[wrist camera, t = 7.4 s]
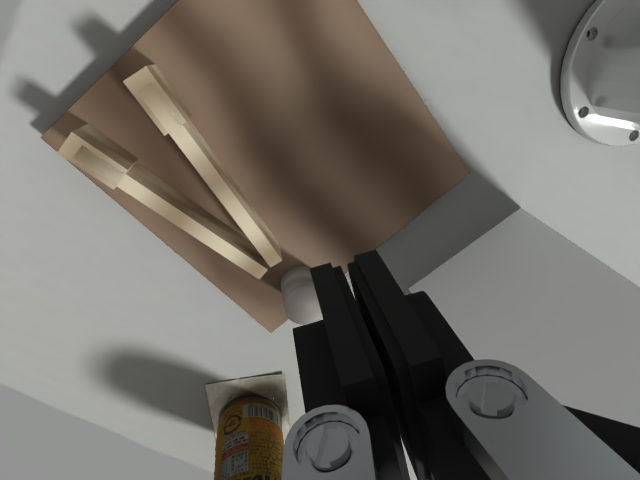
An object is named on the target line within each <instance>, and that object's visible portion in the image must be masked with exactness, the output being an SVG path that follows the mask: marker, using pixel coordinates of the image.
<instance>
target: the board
mask: <svg viewBox="0 0 640 480" xmlns="http://www.w3.org/2000/svg"><path fill="white" fill-rule="evenodd" d="M154 64H156V66H157V67H158V68H159V70H160V71H161V73H162V74H163V75H164V77H165V78H166V80H167V81H168V82H169V84H170V85H171V87H172V88H173V89H174V91H175V92H176V93H177V95H178V96H179V98H180V99H181V100H182V102H183V103H184V105H185V106H186V107H187V109H188V110H189V112H190V113H191V114H192V115H191V116H190V118H189V119H190V121H191V122H192V123H193V125H194V126H195V128H196V129H197V130H198V132H199V133H200V135H201V136H202V137H203V139H204V140H205V141H206V143H207V144H208V146H209V147H210V148H211V150H212V151H213V153H214V154H215V155H216V157H217V158H218V159H219V161H220V162H221V164H222V165H223V166H224V168H225V169H226V171H227V172H228V173H229V175H230V176H231V177H232V179H233V180H234V182H235V183H236V184H237V186H238V187H239V188H240V190H241V191H242V193H243V194H244V195H245V197H246V198H247V200H248V201H249V202H250V204H251V205H252V206H253V208H254V209H255V211H256V212H257V213H258V215H259V216H260V218H261V219H262V220H263V222H264V223H265V224H266V226H267V227H268V229H269V230H270V231H271V233H272V234H273V236H274V237H275V238H276V240H277V241H278V242H279V246H280V251H281V256H282V261H281V262H279V263H277V264H276V265H274V266H272V267H270V266H269V265H268V263H267V266H268V270H267V271H266V273H265V274H264V275H263V276H262V277H261V278H260V279H257V278H256V277H254V276H253V275H251V274H250V273H248V272H247V271H245V270H244V269H242V268H241V267H239V266H238V265H236V264H235V263H233V262H232V261H230V260H228V259H227V258H225V257H224V256H222V255H221V254H219V253H218V252H216V251H215V250H213V249H212V248H210V247H209V246H207V245H206V244H204V243H202V242H201V241H199V240H198V239H196V238H195V237H193V236H192V235H190V234H189V233H187V232H186V231H184V230H183V229H181V228H180V227H178V226H176V225H175V224H173V223H172V222H170V221H169V220H167V219H166V218H164V217H163V216H161V215H160V214H158V213H157V212H155V211H154V210H152V209H150V208H149V207H147V206H146V205H144V204H143V203H141V202H140V201H138V200H137V199H135V198H134V197H132V196H131V195H129V194H128V193H126V192H125V191H123V190H121V189H120V188H118V187H116V188H115V189H114V190H113V189H112V188H110V187H109V186H107V185H106V184H104V183H102V182H101V181H99V180H98V179H96V178H95V177H93V176H92V175H90V174H89V173H87V172H85V171H84V170H82V169H81V168H79V167H78V166H76V165H75V164H73V163H72V162H70V161H69V160H67V159H66V160H67V161H69V162H70V163H71V164H72V165H73V166H75V167H76V168H77V169H78V170H79V171H80V172H82V173H83V174H84V175H85V176H86V177H88V178H89V179H90V180H91V181H92V182H93V183H95V184H96V185H97V186H98V187H99V188H101V189H102V190H103V191H104V192H105V193H106V194H108V195H109V196H110V197H111V198H112V199H114V200H115V201H116V202H117V203H118V204H119V205H121V206H122V207H123V208H124V209H125V210H126V211H128V212H129V213H130V214H131V215H132V216H134V217H135V218H136V219H137V220H138V221H139V222H141V223H142V224H143V225H144V226H145V227H147V228H148V229H149V230H150V231H151V232H152V233H154V234H155V235H156V236H157V237H158V238H160V239H161V240H162V241H163V242H164V243H165V244H167V245H168V246H169V247H170V248H171V249H173V250H174V251H175V252H176V253H177V254H178V255H180V256H181V257H182V258H183V259H184V260H185V261H187V262H188V263H189V264H190V265H191V266H193V267H194V268H195V269H196V270H197V271H198V272H200V273H201V274H202V275H203V276H204V277H206V278H207V279H208V280H209V281H210V282H211V283H213V284H214V285H215V286H216V287H217V288H219V289H220V290H221V291H222V292H223V293H224V294H226V295H227V296H228V297H229V298H230V299H232V300H233V301H234V302H235V303H236V304H237V305H239V306H240V307H241V308H242V309H243V310H245V311H246V312H247V313H248V314H249V315H250V316H252V317H253V318H254V319H255V320H256V321H257V322H259V323H260V324H261V325H262V326H263V327H265V328H266V329H267V330H268V331H269V332H270V333H272V332H273V331H274V330H275V329H277V328H278V327H279V326H280V325H282V324H283V323H284V322H285V321H287V320H288V319H289V318H288V317H287V315H286V313H285V307H284V302H283V296H282V290H281V279H282V276H283V275H284V273H285V272H286V271H287V270H288V269H290V268H292V267H294V266H299V265H304V266H308V267H311V268H313V267H316V266H320V265H323V264H326V263H330V262H331V265H332V267H333V268H334V267H337V266H341V267H342V270H343V272H344V274H345V273H346V272H348V267H347V263H351V262H354V255H358V254H361V253H365V252H368V251H371V250H375V249H376V248H377V247H379V246H380V245H381V244H382V243H384V242H385V241H386V240H387V239H389V238H390V237H391V236H392V235H394V234H395V233H396V232H397V231H399V230H400V229H401V228H402V227H404V226H405V225H406V224H407V223H409V222H410V221H411V220H412V219H414V218H415V217H416V216H417V215H419V214H420V213H421V212H422V211H424V210H425V209H426V208H427V207H429V206H430V205H431V204H432V203H434V202H435V201H436V200H437V199H438V198H440V197H441V196H442V195H443V194H445V193H446V192H447V191H448V190H450V189H451V188H452V187H453V186H455V185H456V184H457V183H458V182H460V181H461V180H462V179H463V178H465V177H466V176H467V175H468V174H470V172H469V171H468V169H467V168H466V166H465V165H464V163H463V162H462V160H461V159H460V157H459V156H458V154H457V153H456V151H455V149H454V148H453V146H452V145H451V143H450V142H449V140H448V139H447V137H446V136H445V134H444V133H443V131H442V130H441V128H440V127H439V125H438V123H437V122H436V120H435V119H434V117H433V116H432V114H431V113H430V111H429V110H428V108H427V107H426V105H425V104H424V102H423V101H422V99H421V97H420V96H419V94H418V93H417V91H416V90H415V88H414V87H413V85H412V84H411V82H410V81H409V79H408V78H407V76H406V75H405V73H404V72H403V70H402V68H401V67H400V65H399V64H398V62H397V61H396V59H395V58H394V56H393V55H392V53H391V52H390V50H389V49H388V47H387V46H386V44H385V42H384V41H383V39H382V38H381V36H380V35H379V33H378V32H377V30H376V29H375V27H374V26H373V24H372V23H371V21H370V20H369V18H368V16H367V15H366V13H365V12H364V10H363V9H362V7H361V6H360V4H359V3H358V1H357V0H178V1H177V2H176V3H175V4H174V5H173V6H172V7H171V8H170V9H169V10H168V11H167V12H166V13H165V14H164V15H163V16H162V17H161V18H160V19H159V20H158V21H157V22H156V23H155V24H154V25H153V26H152V27H151V28H150V29H149V30H148V31H147V32H146V33H145V34H144V35H143V36H142V37H141V38H140V39H139V40H138V41H137V42H136V43H135V44H134V45H133V46H132V47H131V48H130V49H129V50H128V51H127V52H126V53H125V54H124V55H123V56H122V57H121V58H120V59H119V60H118V61H117V62H116V63H115V64H114V65H113V66H112V67H111V68H110V69H109V70H108V71H107V72H106V73H105V74H104V75H103V76H102V77H101V78H100V79H99V80H98V81H97V82H96V83H95V84H94V85H93V86H92V87H91V88H90V89H89V90H88V91H87V92H86V93H85V94H84V95H83V96H82V97H81V98H80V99H79V100H78V101H77V102H76V103H75V104H74V105H73V106H72V107H71V108H70V109H69V110H68V111H67V112H66V113H65V114H64V115H63V116H62V117H61V118H60V119H59V120H58V121H57V122H56V123H55V124H54V125H53V126H52V127H51V128H50V129H49V130H48V131H47V132H46V133H45V134H44V135H43V136H42V137H40V138H42V139H43V140H44V141H45V142H46V143H47V144H49V145H50V146H51V147H52V148H53V149H54V150H56V151H57V152H58V151H59V149H60V148H61V146H62V145H63V144H64V142H65V141H66V139H67V138H68V136H69V135H70V133H71V132H72V131H74V130H76V129H78V128H80V127H82V126H84V125H86V124H89V125H91V126H92V127H94V128H95V129H97V130H98V131H100V132H101V133H102V134H104V135H105V136H107V137H108V138H110V139H111V140H112V141H114V142H115V143H117V144H118V145H120V146H121V147H122V148H124V149H125V150H127V151H128V152H130V153H131V154H133V155H134V156H135V157H137V158H138V160H137V163H138V164H140V165H141V166H142V167H144V168H145V169H147V170H148V171H150V172H151V173H153V174H154V175H155V176H157V177H158V178H160V179H161V180H163V181H164V182H166V183H167V184H168V185H170V186H171V187H173V188H174V189H176V190H177V191H179V192H180V193H181V194H183V195H184V196H186V197H187V198H189V199H190V200H192V201H193V202H194V203H196V204H197V205H199V206H200V207H202V208H203V209H205V210H206V211H207V212H209V213H210V214H212V215H213V216H215V217H216V218H218V219H219V220H220V221H222V222H223V223H225V224H226V225H228V226H229V227H231V228H232V229H233V230H235V231H236V232H238V233H239V234H241V235H242V236H244V237H245V238H246V239H248V240H249V238H248V237H247V236H246V235H245V233H244V232H243V231H242V229H241V228H240V227H239V225H238V224H237V223H236V221H235V220H234V219H233V217H232V216H231V215H230V213H229V212H228V211H227V209H226V208H225V207H224V206H223V204H222V203H221V202H220V200H219V199H218V198H217V196H216V195H215V194H214V192H213V191H212V190H211V188H210V187H209V186H208V184H207V183H206V182H205V181H204V179H203V178H202V177H201V175H200V174H199V173H198V171H197V170H196V169H195V167H194V166H193V165H192V163H191V162H190V161H189V159H188V158H187V157H186V156H185V154H184V153H183V152H182V150H181V149H180V148H179V146H178V145H177V144H176V142H175V141H174V140H173V138H172V137H171V136H170V134H169V133H168V134H167V135H165V136H164V135H163V133H162V132H161V131H160V129H159V128H158V127H157V125H156V124H155V123H154V122H153V120H152V119H151V118H150V116H149V115H148V114H147V112H146V111H145V110H144V109H143V107H142V106H141V105H140V103H139V102H138V101H137V99H136V98H135V97H134V95H133V94H132V93H131V92H130V90H129V89H128V88H127V86H126V85H125V84H124V82H123V81H124V80H126V79H127V78H129V77H130V76H132V75H133V74H135V73H136V72H138V71H139V70H141V69H142V68H144V67H145V66H148V65H154ZM249 241H250V240H249Z"/></svg>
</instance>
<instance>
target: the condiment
mask: <svg viewBox="0 0 640 480" xmlns="http://www.w3.org/2000/svg"><path fill="white" fill-rule="evenodd" d="M205 388H206V393H207V398H208V403H209V408H210V412H211V417H212V422H213V427H214V432H215V436H216V448H215V450H216V455H215V458H216V460H215V472H214V476H215V477H214V480H280V479H281V477H282V465H283V452H284V441H283V439H286V437H287V434H288V433H289V431H290V424H289V413H288V402H287V392H286V381H285V374H279V375H267V376H261V377H250V378H244V379H236V380H232V381H224V382H218V383H213V384H206V385H205ZM232 395H234V396H233V397H232V398H231V396H232ZM273 398H274V399H273ZM229 399H231V400H230V401H228V400H229Z"/></svg>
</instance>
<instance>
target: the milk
mask: <svg viewBox="0 0 640 480" xmlns="http://www.w3.org/2000/svg"><path fill="white" fill-rule="evenodd" d="M408 290H409V291H410V292H411V293H416V292H419V291H425V292H426V294H427V295H428V296H429V297H430V299H431V300H432V302H433V303H434V304H435V306H436V307H437V308H438V310H439V311H440V313H441V314H442V315H443V317H444V318H445V320H446V321H447V322H448V324H449V325H450V326H451V328H452V329H453V331H454V332H455V333H456V335H457V336H458V338H459V339H460V340H461V342H462V343H463V344H464V346H465V347H466V349H467V350H468V351H469V353H470V354H471V356H472V357H473V358H474V360H483V359H492V360H498V361H504V362H506V363H509V364H511V365H514V366H516V367H518V368H519V369H521V370H522V371H524V372H525V373H527V374H528V375H529V376H530V377H531V378H532V379H533V380H534V381H536V382H537V383H538V384H539V385H540V386H541V387H542V388H543V389H545V390H546V391H547V392H548V393H549V394H550V395H551V396H552V397H554V398H555V399H556V400H557V401H558V402H559V403H560V404H561V405H564V406H568V407H571V408H575V409H578V410H582V411H585V412H588V413H592V414H595V415H599V416H602V417H605V418H609V419H612V420H616V421H619V422H622V423H626V424H629V425H633V426H636V427H639V428H640V287H638V286H637V285H635V284H634V283H632V282H631V281H629V280H628V279H626V278H625V277H623V276H622V275H620V274H619V273H617V272H616V271H614V270H613V269H611V268H610V267H608V266H607V265H606V264H604V263H603V262H601V261H600V260H598V259H597V258H595V257H594V256H592V255H591V254H589V253H588V252H586V251H585V250H583V249H582V248H580V247H579V246H577V245H576V244H574V243H573V242H571V241H570V240H568V239H567V238H565V237H564V236H562V235H561V234H559V233H558V232H556V231H555V230H553V229H552V228H550V227H549V226H547V225H546V224H544V223H543V222H541V221H540V220H539V219H537V218H536V217H534V216H533V215H531V214H530V213H528V212H527V211H525V210H524V209H522V208H520V209H518V210H517V211H516V212H514V213H513V214H511V215H510V216H509V217H507V218H506V219H504V220H503V221H502V222H500V223H499V224H498V225H496V226H495V227H493V228H492V229H491V230H489V231H488V232H486V233H485V234H484V235H482V236H481V237H479V238H478V239H477V240H475V241H474V242H473V243H471V244H470V245H468V246H467V247H466V248H464V249H463V250H461V251H460V252H459V253H457V254H456V255H454V256H453V257H452V258H450V259H449V260H448V261H446V262H445V263H443V264H442V265H441V266H439V267H438V268H436V269H435V270H434V271H432V272H431V273H429V274H428V275H427V276H425V277H424V278H423V279H421V280H420V281H418V282H417V283H416V284H414V285H413V286H411V287H410V288H409V289H408Z"/></svg>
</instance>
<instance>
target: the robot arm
mask: <svg viewBox="0 0 640 480" xmlns="http://www.w3.org/2000/svg"><path fill="white" fill-rule="evenodd" d="M561 99H562V104H563V109H564V111H565V114H566V116H567V118H568V121H569V122H570V123H571V125H572V126H573V127H574V129H575V130H576V131H577V132H578V133H579V134H581V135H582V136H583V137H584V138H586V139H588V140H591V141H593V142H595V143H599V144H603V145H607V146H619V147H622V146H630V145H635V144H637V143H640V0H596V1H595V2H594V4H593V5H592V6H591V7H590V8H589V9H588V10H587V12H586V13H585V15H584V16H583V18H582V19H581V21H580V22H579V24H578V25H577V27H576V30H575V32H574V34H573V36H572V38H571V40H570V42H569V44H568V48H567V51H566V54H565V57H564V60H563V66H562V72H561ZM347 267H348V271H349V275H350V279H351V283H352V288H353V292H354V296H355V298H354V296H353V294H352V291H351V289H350V286H349V284H348V282H347V279H346V277H345V275H344V272H343V270H342V267H341V266H337V267H334V268H333V267H332V265H331V262H330V263H326V264H323V265H320V266H316V267H313V268H309V269H310V273H311V276H312V280H313V284H314V287H315V291H316V294H317V298H318V302H319V305H320V309H321V313H322V316H323V320H320V321H317V322H314V323H310V324H307V325H303V326H300V327H297V328H293V335H294V342H295V348H296V355H297V361H298V368H299V374H300V380H301V387H302V393H303V400H304V406H305V413H306V414H304V415H302V416H301V417H300V418H299V419H298V420H297V421H296V422H295V423H294V424H293V426H292V427H291V429H290V431H289V433H288V434H287V437H286V441H285V445H284V452H283V465H282V477H281V479H280V480H410V477H409V473H408V468H407V464H406V460H405V455H404V451H403V446H402V442H401V438H402V441H403V444H404V446H405V449H406V451H407V454H408V456H409V459H410V461H411V464H412V467H413V469H414V472H415V474H416V477H417V479H418V480H640V428H639V427H636V426H633V425H629V424H626V423H622V422H619V421H616V420H612V419H609V418H605V417H602V416H599V415H595V414H592V413H588V412H585V411H582V410H578V409H575V408H571V407H568V406H564V405H561V404H560V403H559V402H558V401H557V400H556V399H555V398H554V397H552V396H551V395H550V394H549V393H548V392H547V391H546V390H545V389H543V388H542V387H541V386H540V385H539V384H538V383H537V382H536V381H534V380H533V379H532V378H531V377H530V376H529V375H528V374H527V373H525V372H524V371H522V370H521V369H519V368H518V367H516V366H514V365H511V364H509V363H506V362H504V361H498V360H492V359H483V360H474V358H473V357H472V356H471V354H470V353H469V351H468V350H467V349H466V347H465V346H464V344H463V343H462V342H461V340H460V339H459V338H458V336H457V335H456V333H455V332H454V331H453V329H452V328H451V326H450V325H449V324H448V322H447V321H446V320H445V318H444V317H443V315H442V314H441V313H440V311H439V310H438V308H437V307H436V306H435V304H434V303H433V302H432V300H431V299H430V297H429V296H428V295H427V294H426V292H425V291H419V292H416V293H412V294H409V295H404V294H403V292H402V291H401V289H400V287H399V286H398V284H397V283H396V281H395V279H394V278H393V276H392V275H391V273H390V271H389V270H388V268H387V267H386V265H385V264H384V262H383V260H382V259H381V257H380V256H379V254H378V252H377V251H376V250H371V251H368V252H365V253H361V254H358V255H354V262H351V263H347ZM355 300H356V301H355ZM400 436H401V437H400Z"/></svg>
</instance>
